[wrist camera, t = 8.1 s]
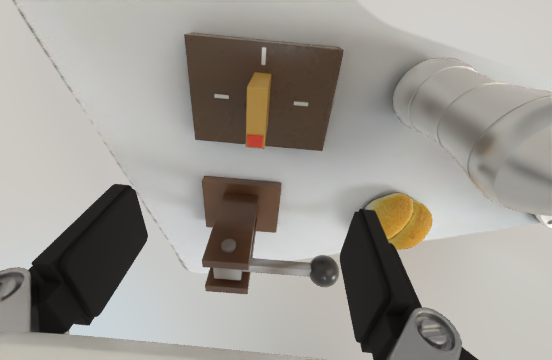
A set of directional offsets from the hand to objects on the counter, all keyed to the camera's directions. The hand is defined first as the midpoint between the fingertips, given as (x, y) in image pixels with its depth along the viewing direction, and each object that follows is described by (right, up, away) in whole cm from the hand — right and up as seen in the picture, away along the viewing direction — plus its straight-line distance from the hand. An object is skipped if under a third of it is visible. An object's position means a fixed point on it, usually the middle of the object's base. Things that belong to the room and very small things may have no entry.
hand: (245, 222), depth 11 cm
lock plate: (0, +11, +15) cm, 19 cm away
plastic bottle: (+16, +11, +15) cm, 25 cm away
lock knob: (0, +10, +14) cm, 17 cm away
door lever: (+2, -6, +17) cm, 18 cm away
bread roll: (+18, -3, +24) cm, 30 cm away
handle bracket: (-3, -1, +24) cm, 24 cm away
